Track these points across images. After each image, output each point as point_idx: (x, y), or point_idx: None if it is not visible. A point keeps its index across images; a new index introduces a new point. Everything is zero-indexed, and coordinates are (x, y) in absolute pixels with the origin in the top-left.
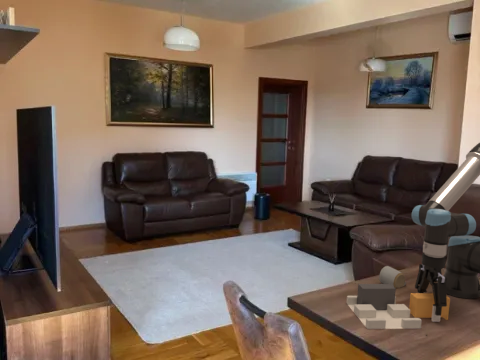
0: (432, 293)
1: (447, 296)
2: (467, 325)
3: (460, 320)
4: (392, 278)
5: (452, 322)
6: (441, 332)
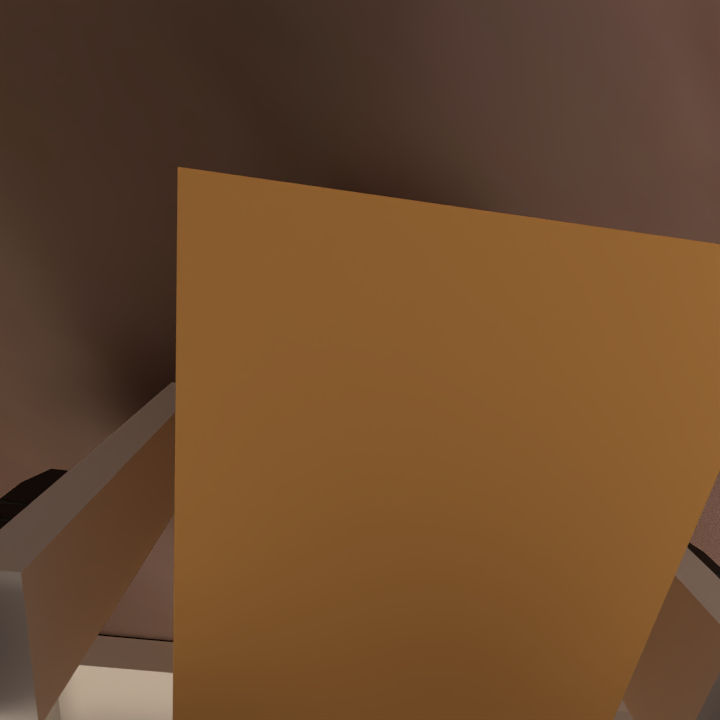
0: (197, 630)
1: (600, 239)
2: (715, 43)
3: (548, 25)
4: None
5: (565, 218)
6: (715, 523)
